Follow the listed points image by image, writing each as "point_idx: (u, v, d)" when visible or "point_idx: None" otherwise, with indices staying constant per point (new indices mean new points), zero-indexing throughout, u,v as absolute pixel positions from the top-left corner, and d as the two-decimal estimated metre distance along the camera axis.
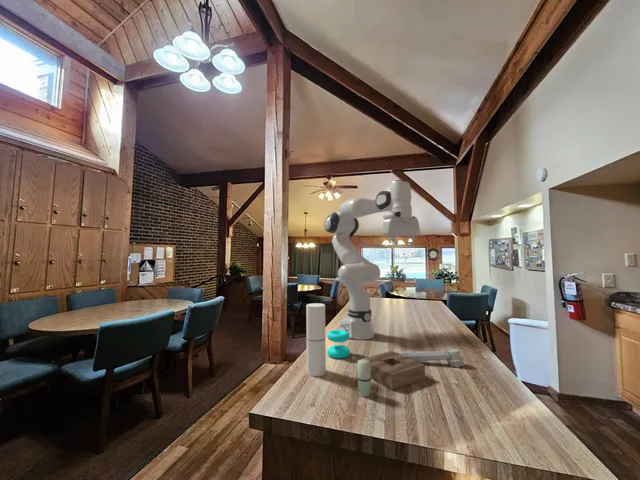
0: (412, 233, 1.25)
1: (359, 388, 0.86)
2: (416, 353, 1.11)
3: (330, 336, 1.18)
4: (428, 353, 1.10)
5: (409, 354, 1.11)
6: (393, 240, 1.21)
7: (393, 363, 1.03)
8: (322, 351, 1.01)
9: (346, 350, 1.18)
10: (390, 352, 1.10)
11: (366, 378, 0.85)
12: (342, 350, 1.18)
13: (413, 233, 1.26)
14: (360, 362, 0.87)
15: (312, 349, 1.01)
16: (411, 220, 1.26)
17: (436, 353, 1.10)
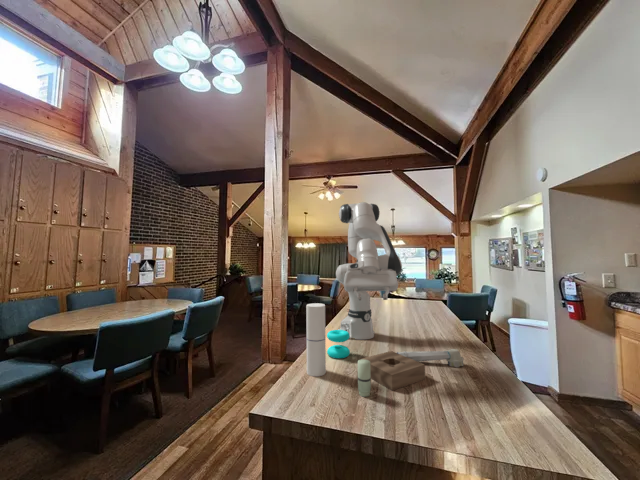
0: (383, 283, 1.02)
1: (359, 388, 0.86)
2: (416, 353, 1.11)
3: (330, 336, 1.18)
4: (428, 353, 1.10)
5: (409, 354, 1.11)
6: (355, 294, 1.02)
7: (393, 363, 1.03)
8: (322, 351, 1.01)
9: (346, 350, 1.18)
10: (390, 352, 1.10)
11: (366, 378, 0.85)
12: (342, 350, 1.18)
13: (385, 283, 1.02)
14: (360, 362, 0.87)
15: (312, 349, 1.01)
16: (380, 271, 1.07)
17: (436, 353, 1.10)
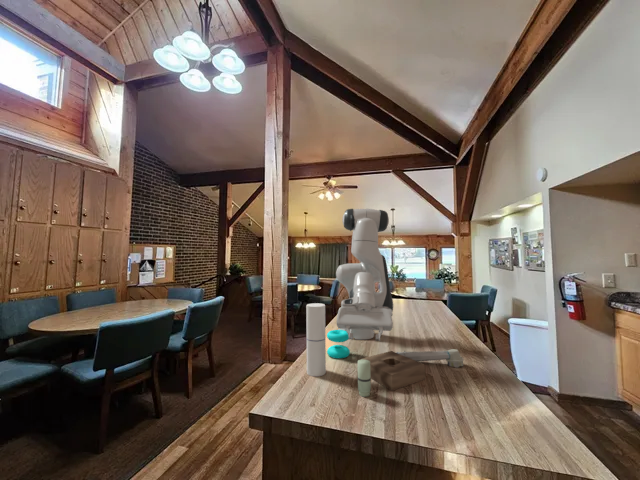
0: (377, 323, 0.98)
1: (359, 388, 0.86)
2: (415, 353, 1.11)
3: (330, 336, 1.18)
4: (427, 353, 1.10)
5: (408, 354, 1.11)
6: (347, 332, 0.99)
7: (393, 363, 1.03)
8: (322, 351, 1.01)
9: (346, 350, 1.18)
10: (390, 352, 1.10)
11: (366, 378, 0.85)
12: (342, 350, 1.18)
13: (379, 323, 0.98)
14: (360, 362, 0.87)
15: (312, 349, 1.01)
16: (375, 309, 1.03)
17: (435, 353, 1.10)
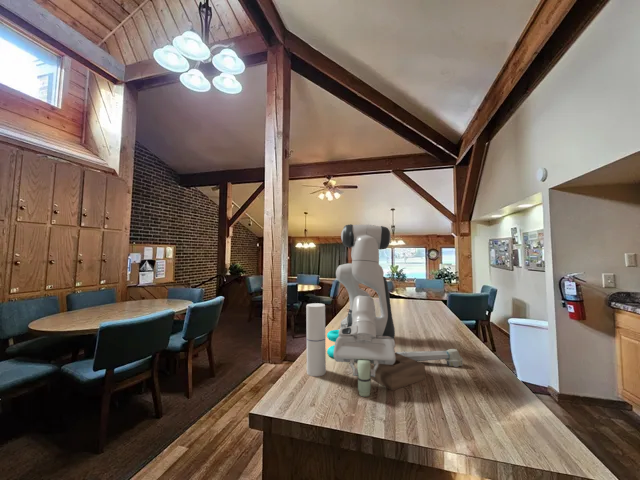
0: (378, 356, 0.89)
1: (359, 388, 0.86)
2: (415, 353, 1.11)
3: (330, 336, 1.18)
4: (427, 353, 1.10)
5: (408, 354, 1.11)
6: (352, 367, 0.89)
7: None
8: (322, 351, 1.01)
9: None
10: None
11: (366, 378, 0.86)
12: None
13: (380, 356, 0.89)
14: (360, 362, 0.87)
15: (312, 349, 1.01)
16: (376, 339, 0.93)
17: (435, 353, 1.10)
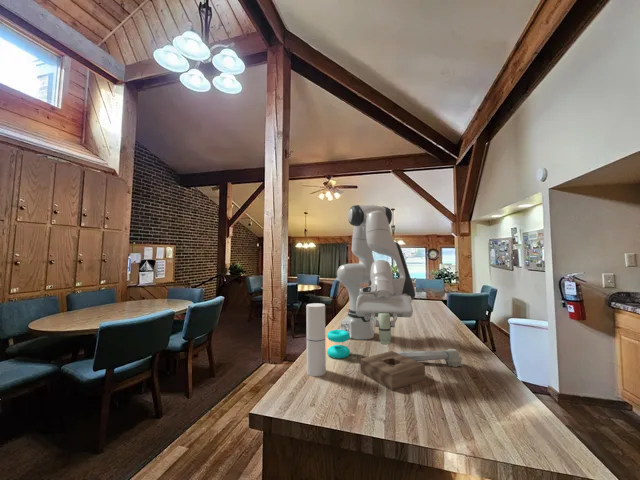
0: (397, 310, 0.98)
1: (380, 337, 0.95)
2: (414, 353, 1.11)
3: (330, 336, 1.18)
4: (426, 353, 1.10)
5: (407, 354, 1.11)
6: (373, 320, 0.98)
7: (393, 363, 1.03)
8: (322, 351, 1.01)
9: (346, 350, 1.18)
10: (390, 352, 1.10)
11: (386, 328, 0.94)
12: (342, 350, 1.18)
13: (399, 310, 0.98)
14: (381, 314, 0.96)
15: (312, 349, 1.01)
16: (394, 296, 1.02)
17: (434, 353, 1.10)
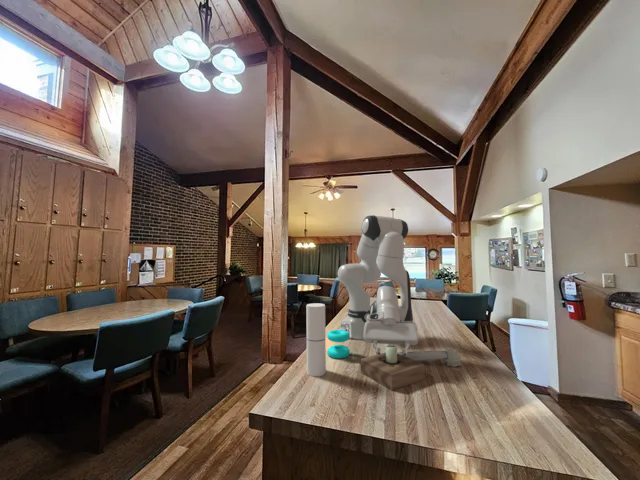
0: (403, 338, 1.02)
1: None
2: (414, 353, 1.11)
3: (330, 336, 1.18)
4: (425, 353, 1.11)
5: (407, 354, 1.12)
6: (375, 347, 1.02)
7: None
8: (322, 351, 1.01)
9: (346, 350, 1.18)
10: None
11: (393, 362, 0.98)
12: (342, 350, 1.18)
13: (405, 338, 1.02)
14: (388, 348, 1.00)
15: (312, 349, 1.01)
16: (400, 323, 1.06)
17: (433, 353, 1.10)
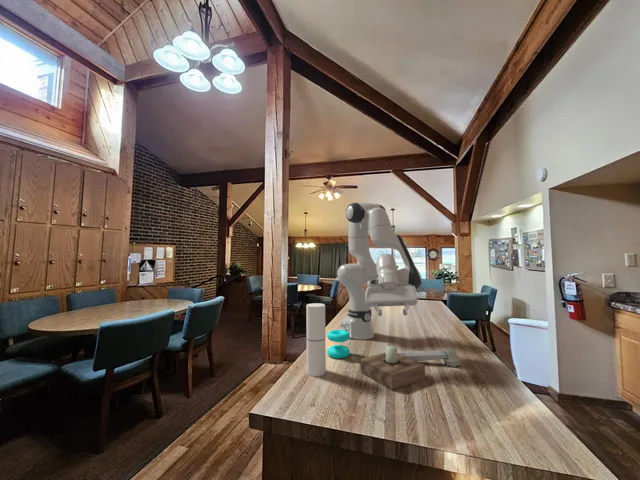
0: (403, 299, 1.07)
1: None
2: (413, 353, 1.11)
3: (330, 336, 1.18)
4: (425, 353, 1.11)
5: (406, 354, 1.12)
6: (376, 309, 1.07)
7: None
8: (322, 351, 1.01)
9: (346, 350, 1.18)
10: None
11: (393, 361, 0.98)
12: (342, 350, 1.18)
13: (404, 299, 1.07)
14: (388, 348, 1.00)
15: (312, 349, 1.01)
16: (400, 286, 1.11)
17: (433, 353, 1.10)
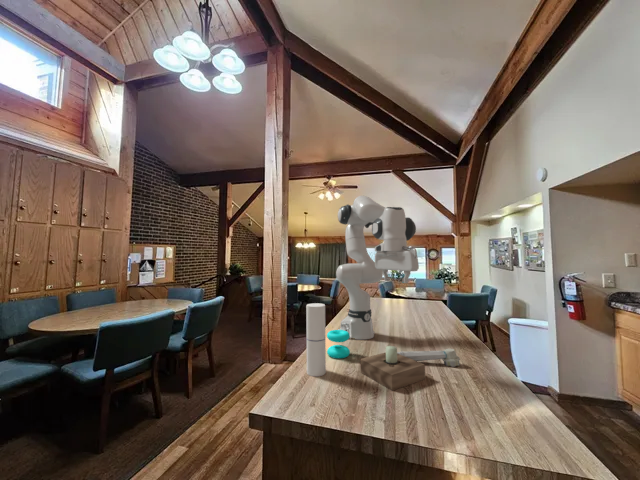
0: (401, 268, 1.04)
1: None
2: (412, 353, 1.11)
3: (330, 336, 1.18)
4: (424, 353, 1.11)
5: (405, 354, 1.12)
6: None
7: None
8: (322, 351, 1.01)
9: (346, 350, 1.18)
10: None
11: (393, 362, 0.98)
12: (342, 350, 1.18)
13: (402, 268, 1.04)
14: (388, 348, 1.00)
15: (312, 349, 1.01)
16: (400, 252, 1.05)
17: (432, 353, 1.10)
